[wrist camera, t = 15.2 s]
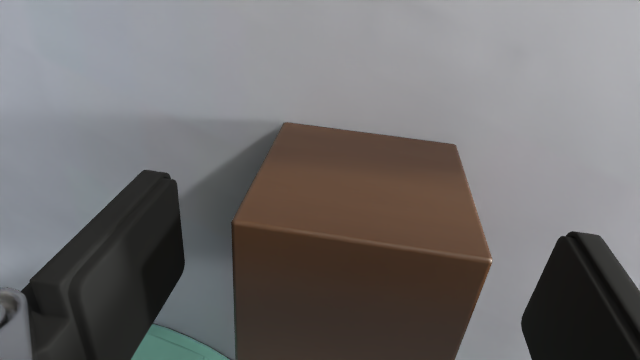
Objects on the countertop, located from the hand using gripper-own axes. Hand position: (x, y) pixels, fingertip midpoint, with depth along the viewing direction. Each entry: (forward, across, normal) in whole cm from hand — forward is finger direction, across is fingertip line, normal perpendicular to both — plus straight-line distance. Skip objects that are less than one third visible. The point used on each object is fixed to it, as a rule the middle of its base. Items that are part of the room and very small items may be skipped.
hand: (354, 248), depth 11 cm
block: (+2, 0, 0) cm, 2 cm away
